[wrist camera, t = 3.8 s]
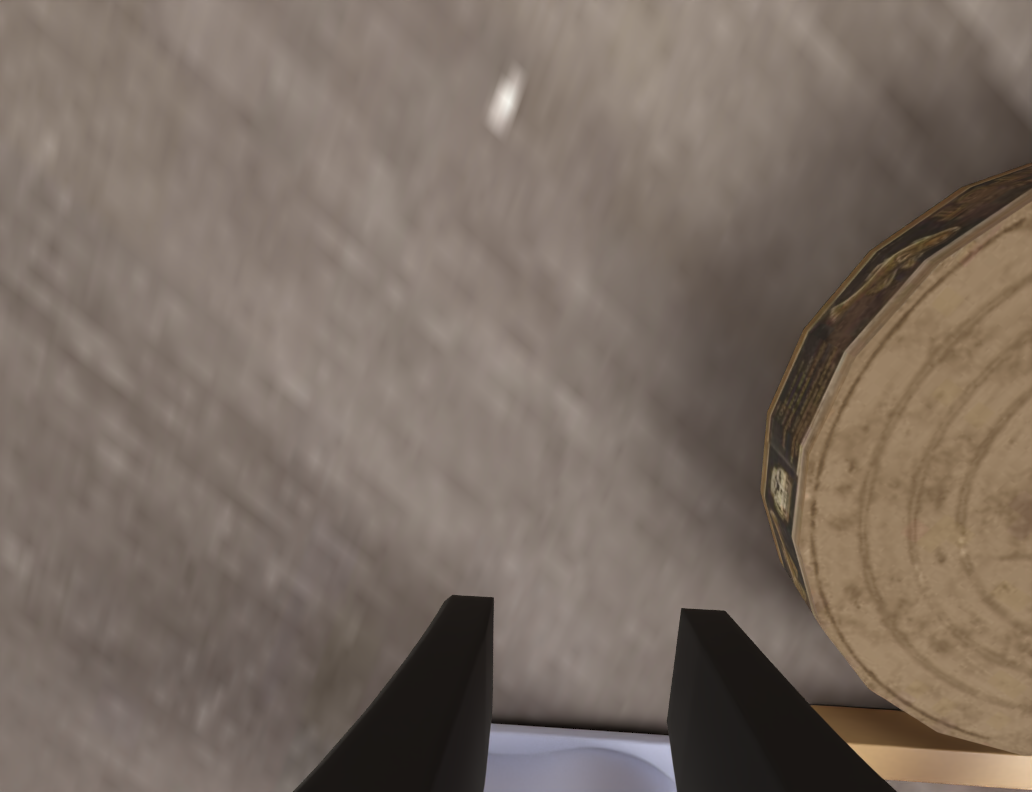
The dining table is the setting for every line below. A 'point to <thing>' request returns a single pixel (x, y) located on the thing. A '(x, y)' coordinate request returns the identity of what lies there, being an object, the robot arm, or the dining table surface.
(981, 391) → the tin can
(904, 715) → the rail
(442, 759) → the robot arm
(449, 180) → the dining table surface
